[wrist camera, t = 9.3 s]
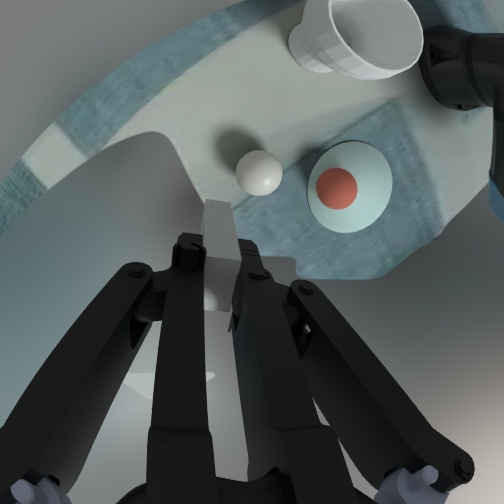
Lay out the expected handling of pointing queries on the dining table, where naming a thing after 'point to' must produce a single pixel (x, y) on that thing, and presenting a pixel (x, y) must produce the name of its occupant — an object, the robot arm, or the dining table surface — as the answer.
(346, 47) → the cup
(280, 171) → the cue ball
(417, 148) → the dining table surface
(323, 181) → the object ball
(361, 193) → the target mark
